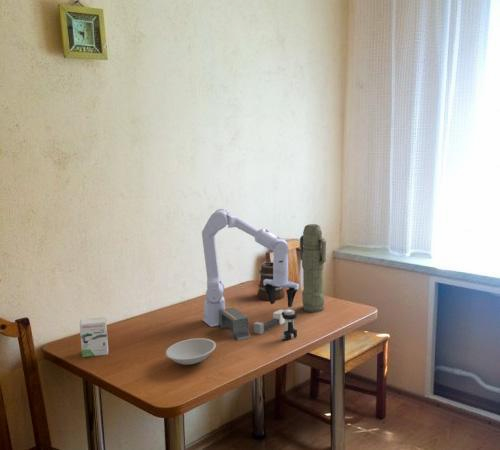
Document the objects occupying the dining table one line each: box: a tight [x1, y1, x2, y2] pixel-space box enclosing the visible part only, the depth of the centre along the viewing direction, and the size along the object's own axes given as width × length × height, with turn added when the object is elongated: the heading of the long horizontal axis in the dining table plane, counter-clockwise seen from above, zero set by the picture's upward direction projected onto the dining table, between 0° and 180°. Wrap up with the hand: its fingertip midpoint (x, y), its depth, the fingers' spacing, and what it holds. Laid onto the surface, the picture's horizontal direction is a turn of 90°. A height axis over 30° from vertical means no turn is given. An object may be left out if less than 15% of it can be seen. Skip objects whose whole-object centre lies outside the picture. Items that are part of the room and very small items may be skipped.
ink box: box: [79, 316, 109, 358], centre depth 174 cm, size 9×5×12 cm, turn 103°
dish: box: [165, 337, 217, 366], centre depth 164 cm, size 18×14×5 cm
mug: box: [257, 261, 285, 301], centre depth 231 cm, size 16×12×15 cm
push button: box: [280, 308, 298, 341], centre depth 182 cm, size 7×5×10 cm
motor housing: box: [218, 307, 252, 341], centre depth 190 cm, size 18×6×7 cm, turn 26°
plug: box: [253, 309, 285, 335], centre depth 194 cm, size 4×17×4 cm, turn 140°
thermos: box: [299, 223, 327, 313], centre depth 210 cm, size 9×12×35 cm
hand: (281, 304), depth 198 cm, fingers open, 7 cm apart
